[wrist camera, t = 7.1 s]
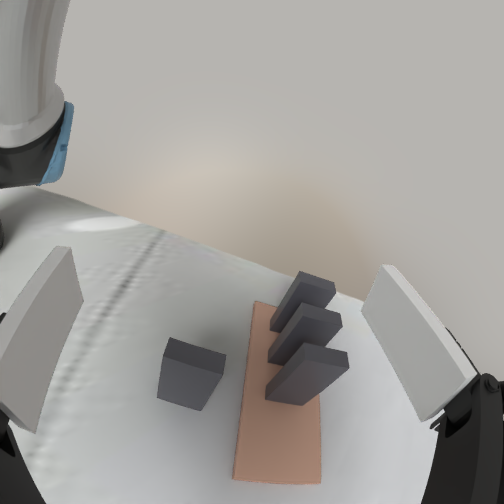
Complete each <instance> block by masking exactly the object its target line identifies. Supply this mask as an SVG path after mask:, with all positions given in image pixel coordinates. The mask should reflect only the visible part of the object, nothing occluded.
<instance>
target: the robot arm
mask: <svg viewBox="0 0 504 504" xmlns="http://www.w3.org/2000/svg"><path fill="white" fill-rule="evenodd" d="M69 3H70V0H0V189H3V188H11V187H19V186H29V185H36V186H40V185H41V184H45V183H52V182H55V181H57V180H58V179H59V178H60V177H61V176H62V173H63V170H64V165H65V160H66V154H67V146H68V141H69V137H70V131H71V124H72V119H73V113H74V106H73V104H72V103H68V102H66V101H64V96H63V92H62V90H61V88H60V87H59V86H58V85H57V84H55V75H56V66H57V59H58V53H59V47H60V41H61V36H62V31H63V27H64V22H65V18H66V14H67V10H68V7H69ZM3 241H4V232H3V227H2V223H1V220H0V249H1V247H2V244H3ZM83 302H84V300H83V297H82V293H81V289H80V285H79V281H78V277H77V273H76V269H75V265H74V260H73V255H72V250H71V247H60V246H56V247H55V248H54V249H53V250H52V252H51V253H50V254H49V255H48V257H47V258H46V259H45V260H44V262H43V263H42V264H41V265H40V267H39V268H38V269H37V271H36V272H35V273H34V275H33V276H32V277H31V279H30V280H29V281H28V283H27V284H26V286H25V287H24V288H23V290H22V291H21V293H20V294H19V296H18V297H17V298H16V300H15V301H14V303H13V304H12V306H11V308H10V309H9V311H8V312H7V313H2V314H1V315H0V504H46V503H45V501H44V499H43V498H42V496H41V494H40V492H39V491H38V489H37V487H36V485H35V483H34V481H33V479H32V477H31V475H30V473H29V471H28V469H27V467H26V464H25V462H24V460H23V457H22V455H21V453H20V450H19V448H18V445H17V443H16V440H15V437H14V435H13V432H12V430H11V428H10V426H9V425H8V422H9V419H11V420H12V421H13V422H14V423H15V424H16V425H17V426H18V427H20V428H22V429H25V430H27V431H29V432H32V433H34V434H36V429H37V425H38V422H39V418H40V414H41V411H42V407H43V404H44V400H45V397H46V394H47V391H48V388H49V385H50V382H51V379H52V376H53V373H54V370H55V368H56V365H57V362H58V359H59V357H60V354H61V352H62V349H63V347H64V344H65V342H66V339H67V337H68V335H69V332H70V330H71V328H72V325H73V323H74V321H75V319H76V317H77V314H78V312H79V310H80V308H81V306H82V304H83ZM361 312H362V314H363V316H364V317H365V319H366V321H367V322H368V324H369V326H370V328H371V329H372V331H373V333H374V334H375V336H376V338H377V340H378V341H379V343H380V345H381V347H382V349H383V350H384V352H385V354H386V356H387V357H388V359H389V361H390V363H391V365H392V367H393V368H394V370H395V372H396V374H397V376H398V378H399V380H400V382H401V383H402V385H403V387H404V389H405V391H406V393H407V395H408V397H409V399H410V401H411V403H412V405H413V407H414V409H415V411H416V413H417V415H418V417H419V419H420V421H421V422H424V421H426V420H428V419H430V418H432V417H434V416H435V415H436V414H438V413H439V412H440V411H441V410H442V409H444V411H445V413H443V414H442V415H441V416H440V417H439V418H438V419H437V420H435V421H434V422H433V423H432V424H431V426H430V428H429V429H432V428H434V427H435V426H436V425H437V424H439V423H440V425H438V426H437V427H436V428H435V429H434V430H435V431H438V432H439V433H438V438H437V444H436V449H435V454H434V458H433V463H432V467H431V471H430V475H429V479H428V482H427V486H426V489H425V492H424V496H423V499H422V502H421V504H504V421H503V414H504V381H500V382H498V381H497V380H496V379H495V377H494V376H492V375H490V374H487V373H485V374H482V376H481V375H480V373H479V372H478V371H477V369H476V368H475V366H474V365H473V363H472V362H471V360H470V359H469V357H468V356H467V354H466V353H465V351H464V350H463V349H461V346H460V344H459V343H458V342H456V339H455V338H454V336H453V335H452V333H451V332H450V331H449V330H448V329H447V328H446V327H444V326H443V324H442V323H441V322H440V320H439V319H438V318H437V316H436V315H435V314H434V313H433V312H432V310H431V309H430V308H429V306H428V305H427V304H426V303H425V302H424V300H423V299H422V298H421V297H420V295H419V294H418V293H417V292H416V291H415V289H414V288H413V287H412V286H411V285H410V284H409V282H408V281H407V280H406V279H405V278H404V277H403V275H402V274H401V273H400V272H399V271H398V270H397V269H396V268H395V266H394V265H381V267H380V269H379V271H378V274H377V276H376V279H375V281H374V283H373V285H372V288H371V290H370V292H369V294H368V297H367V299H366V301H365V303H364V305H363V307H362V309H361Z"/></svg>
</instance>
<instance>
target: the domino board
mask: <svg viewBox="0 0 504 504" xmlns="http://www.w3.org/2000/svg"><path fill="white" fill-rule="evenodd" d="M276 310H277V307H274V306H271V305H267V304H264V303H261V302H257V301H255V303H254V307H253V316H252V324H251V332H250V341H249V349H248V357H247V365H246V373H245V382H244V390H243V398H242V405H241V413H240V421H239V429H238V437H237V444H236V452H235V460H234V467H233V475H232V479H235V480H243V481H251V482H262V483H276V484H320V483H321V433H320V403H319V394H318V395H316V396H315V397H314V398H312V399H311V400H310V401H309V402H307V403H306V404H305V405H303V406H299V405H292V404H286V403H280V402H274V401H269V400H265V390H266V385H267V384H268V383H269V382H270V381H271V380H272V378H273V377H274V376H275V375H276V374H277V373H278V372H279V371H280V370H281V369H282V368H283V366H280V365H276V364H272V363H267V361H268V350H269V348H270V347H271V346H272V344H273V343H274V342H275V340H276V339H277V337H278V336H279V335H280V333H277V332H273V331H270V330H269V329H270V319H271V318H272V316H273V314H274V313H275V311H276Z"/></svg>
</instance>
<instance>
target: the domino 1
mask: <svg viewBox="0 0 504 504" xmlns="http://www.w3.org/2000/svg"><path fill="white" fill-rule="evenodd" d="M225 360H226V355H225V354H221V353H218V352H214V351H211V350H207V349H204V348H201V347H198V346H195V345H191V344H188V343H185V342H182V341H179V340H176V339H173V338H171V337H170V338H169V340H168V343H167V346H166V349H165V352H164V355H163V359H162V365H161V372H160V379H159V386H158V394H157V398H159V399H162V400H165V401H168V402H172V403H175V404H178V405H181V406H185V407H188V408H192V409H195V410H199V411H201V410H202V408H203V406H204V405H205V403H206V402H207V400H208V398H209V397H210V395H211V393H212V392H213V390H214V388H215V387H216V385H217V384H218V382H219V380H220V379H221V377H222V375H223V371H224V365H225Z"/></svg>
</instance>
